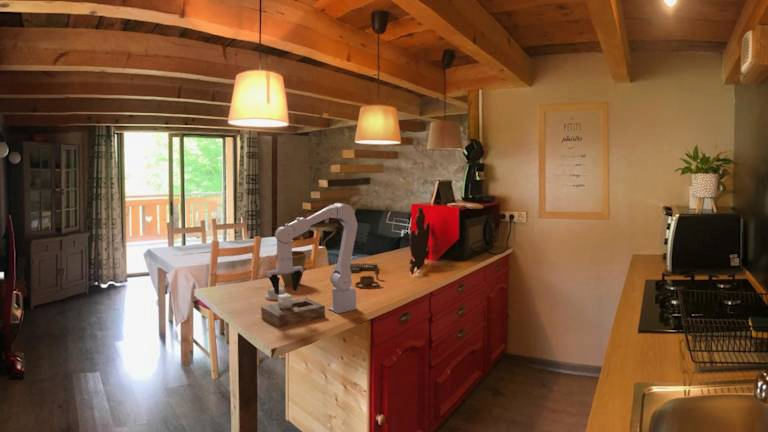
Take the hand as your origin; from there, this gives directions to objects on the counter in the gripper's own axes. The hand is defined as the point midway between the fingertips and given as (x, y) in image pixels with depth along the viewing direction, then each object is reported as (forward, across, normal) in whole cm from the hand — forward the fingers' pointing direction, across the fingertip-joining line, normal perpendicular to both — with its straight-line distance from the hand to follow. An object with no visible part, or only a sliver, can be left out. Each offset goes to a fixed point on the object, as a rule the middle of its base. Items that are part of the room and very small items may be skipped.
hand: (285, 292), depth 188 cm
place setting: (+11, -58, -21) cm, 63 cm away
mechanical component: (+11, -10, -30) cm, 33 cm away
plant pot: (+11, -27, -47) cm, 55 cm away
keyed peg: (+9, +1, +1) cm, 9 cm away
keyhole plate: (+10, -2, +1) cm, 11 cm away
